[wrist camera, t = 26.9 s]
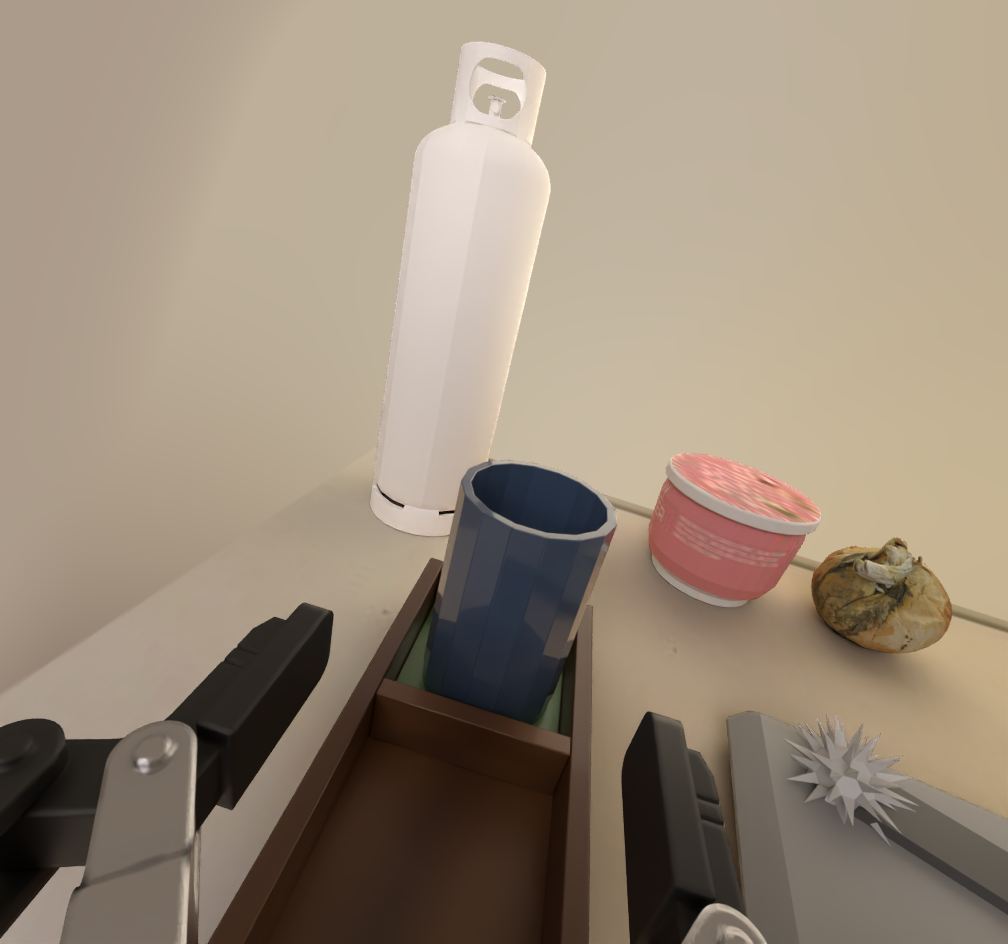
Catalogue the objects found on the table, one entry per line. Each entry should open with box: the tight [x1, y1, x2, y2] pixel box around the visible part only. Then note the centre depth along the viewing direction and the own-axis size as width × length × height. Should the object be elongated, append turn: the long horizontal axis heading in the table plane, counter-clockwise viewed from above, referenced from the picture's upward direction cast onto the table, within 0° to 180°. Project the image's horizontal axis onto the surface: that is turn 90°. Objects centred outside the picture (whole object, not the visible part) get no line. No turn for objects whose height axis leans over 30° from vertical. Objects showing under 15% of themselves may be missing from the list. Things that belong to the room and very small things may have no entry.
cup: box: [422, 460, 617, 725], centre depth 21 cm, size 6×6×10 cm
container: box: [649, 453, 822, 607], centre depth 36 cm, size 10×10×8 cm
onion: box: [811, 538, 952, 653], centre depth 34 cm, size 8×8×8 cm
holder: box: [208, 558, 593, 944], centre depth 19 cm, size 9×18×3 cm, turn 170°
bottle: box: [370, 42, 551, 537], centre depth 32 cm, size 8×8×28 cm
